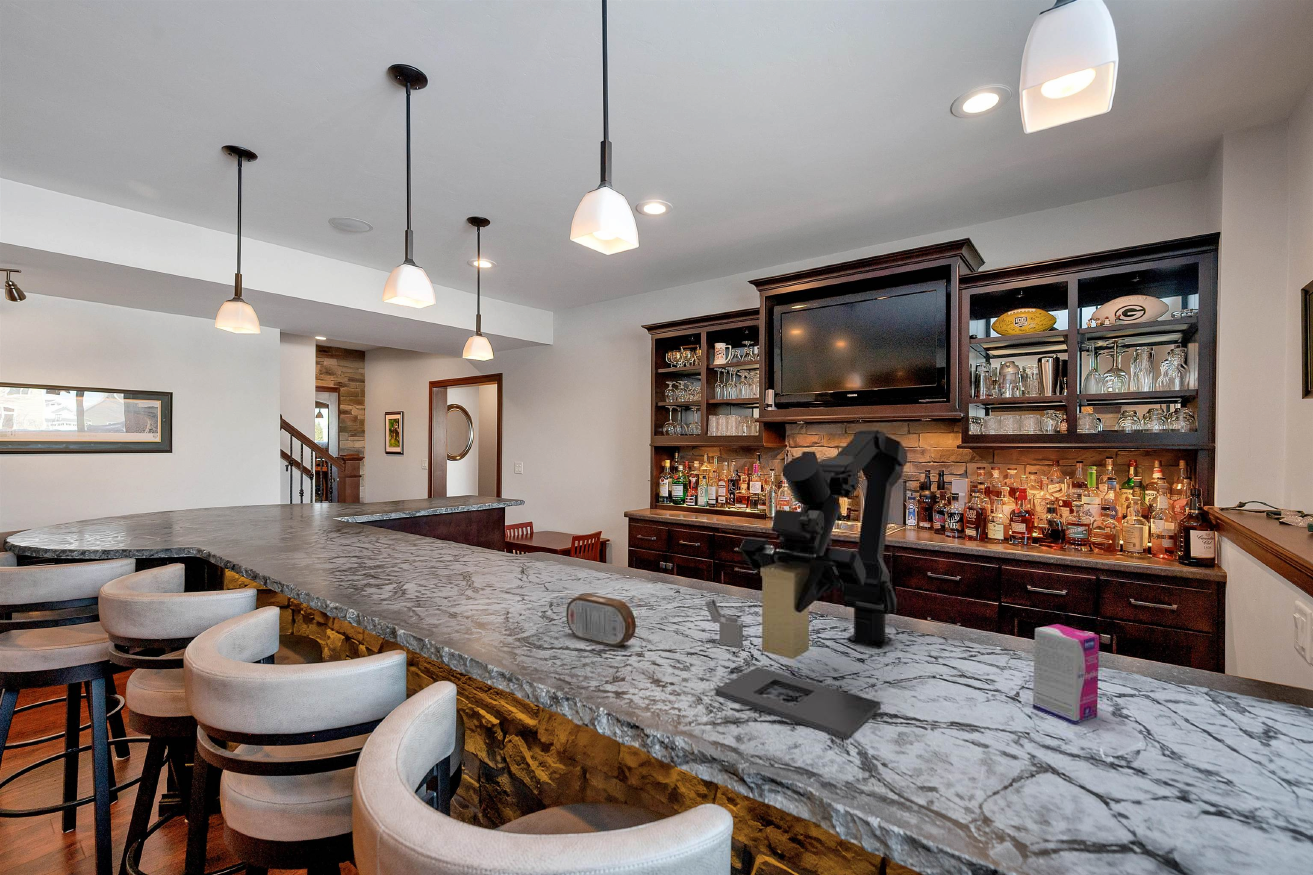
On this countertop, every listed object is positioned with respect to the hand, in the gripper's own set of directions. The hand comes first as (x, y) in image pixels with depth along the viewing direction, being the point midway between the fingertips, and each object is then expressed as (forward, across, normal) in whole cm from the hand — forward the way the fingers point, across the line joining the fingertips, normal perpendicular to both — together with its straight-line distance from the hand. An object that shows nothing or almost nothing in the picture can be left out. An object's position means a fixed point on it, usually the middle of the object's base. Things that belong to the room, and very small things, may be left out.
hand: (781, 607), depth 85 cm
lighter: (-1, -20, +21) cm, 29 cm away
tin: (+9, -38, +10) cm, 41 cm away
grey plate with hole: (+9, +2, +10) cm, 14 cm away
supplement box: (-7, +32, +26) cm, 42 cm away
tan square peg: (+4, 0, +6) cm, 7 cm away
